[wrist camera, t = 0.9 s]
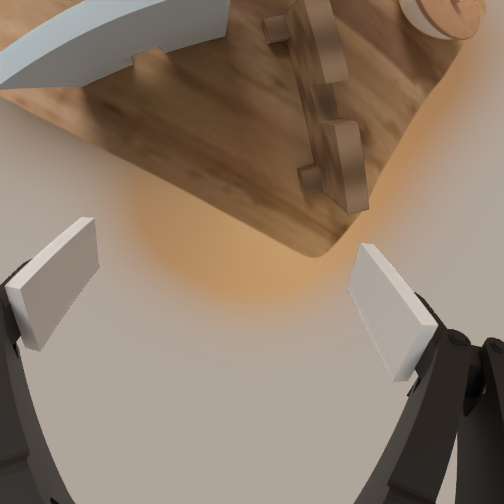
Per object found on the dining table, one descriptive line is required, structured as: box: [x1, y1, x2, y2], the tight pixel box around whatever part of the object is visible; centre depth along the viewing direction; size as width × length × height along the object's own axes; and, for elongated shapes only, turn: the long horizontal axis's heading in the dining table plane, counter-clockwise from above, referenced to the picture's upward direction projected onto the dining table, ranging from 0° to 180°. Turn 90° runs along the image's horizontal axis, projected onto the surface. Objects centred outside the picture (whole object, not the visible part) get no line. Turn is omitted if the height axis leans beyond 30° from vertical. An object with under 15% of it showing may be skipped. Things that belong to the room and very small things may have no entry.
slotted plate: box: [0, 0, 231, 90], centre depth 21 cm, size 18×2×18 cm, turn 104°
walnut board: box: [261, 0, 369, 215], centre depth 30 cm, size 22×7×10 cm, turn 14°
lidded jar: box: [399, 0, 480, 40], centre depth 24 cm, size 11×11×9 cm
